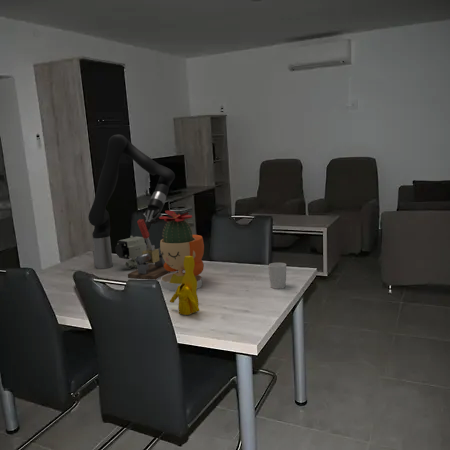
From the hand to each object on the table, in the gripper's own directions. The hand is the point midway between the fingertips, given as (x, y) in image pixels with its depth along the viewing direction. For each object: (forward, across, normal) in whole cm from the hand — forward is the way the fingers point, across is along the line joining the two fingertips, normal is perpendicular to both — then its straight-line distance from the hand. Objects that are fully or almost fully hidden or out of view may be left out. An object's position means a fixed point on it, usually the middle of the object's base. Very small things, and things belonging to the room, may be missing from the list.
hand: (146, 229), depth 226 cm
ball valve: (+10, -17, +24) cm, 31 cm away
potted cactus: (+23, +26, +10) cm, 36 cm away
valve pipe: (+14, 0, +17) cm, 22 cm away
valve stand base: (+15, 0, +18) cm, 24 cm away
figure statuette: (+47, +46, -13) cm, 67 cm away
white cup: (+19, +70, +15) cm, 74 cm away
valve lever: (+5, 0, +8) cm, 10 cm away
